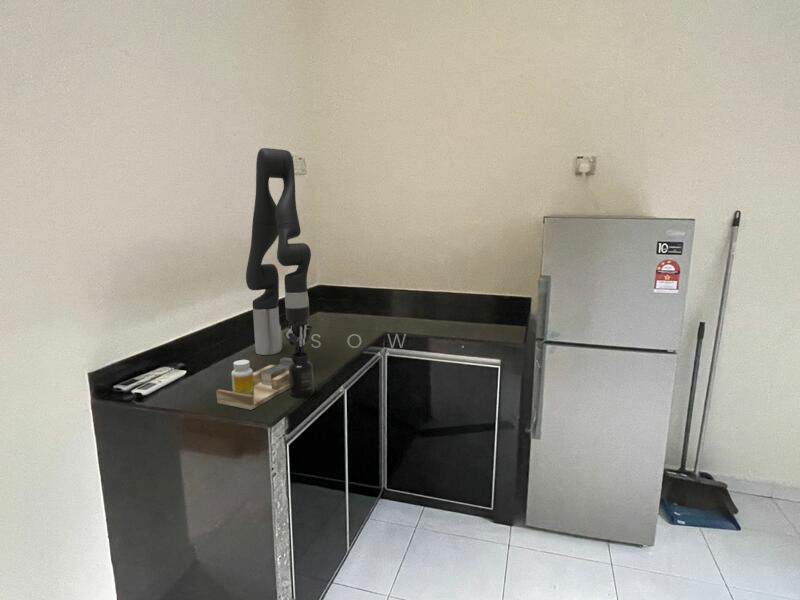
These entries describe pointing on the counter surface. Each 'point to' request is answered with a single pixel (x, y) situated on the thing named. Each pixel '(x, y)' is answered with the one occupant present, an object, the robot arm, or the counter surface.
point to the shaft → (276, 371)
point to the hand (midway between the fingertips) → (300, 356)
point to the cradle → (255, 391)
